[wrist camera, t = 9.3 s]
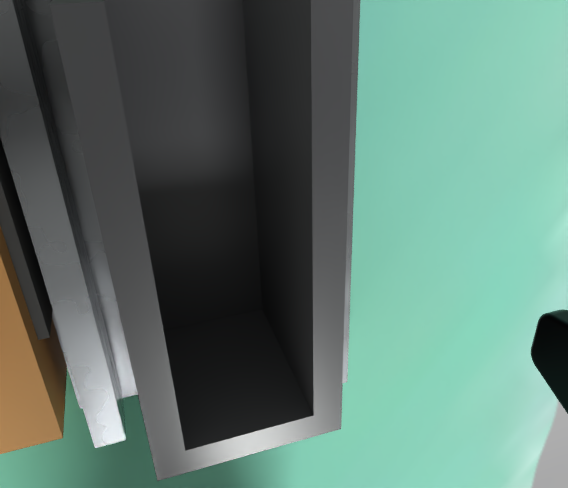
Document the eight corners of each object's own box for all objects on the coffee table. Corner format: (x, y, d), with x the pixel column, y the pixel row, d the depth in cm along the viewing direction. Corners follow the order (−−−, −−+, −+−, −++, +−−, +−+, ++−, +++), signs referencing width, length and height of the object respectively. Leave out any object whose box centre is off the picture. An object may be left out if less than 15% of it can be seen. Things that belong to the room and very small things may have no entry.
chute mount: (331, 333, 22) (359, 378, 20) (80, 392, 20) (78, 452, 17) (337, -133, 14) (385, -150, 12) (-79, -134, 12) (-120, -155, 10)
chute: (276, 307, 20) (341, 428, 15) (139, 337, 18) (157, 480, 13) (261, -26, 14) (354, -14, 9) (64, -16, 13) (49, 4, 8)
